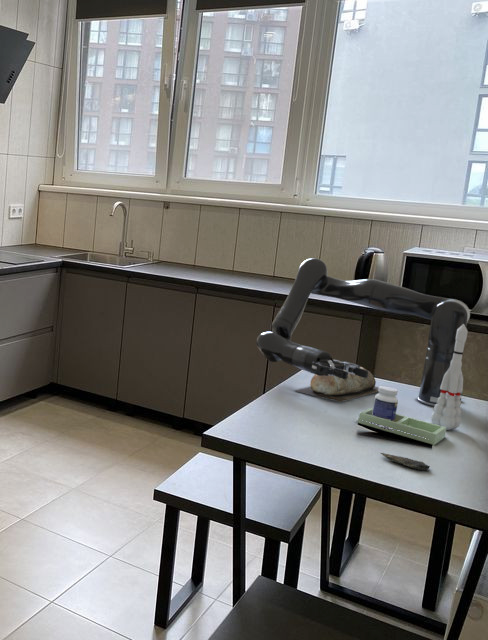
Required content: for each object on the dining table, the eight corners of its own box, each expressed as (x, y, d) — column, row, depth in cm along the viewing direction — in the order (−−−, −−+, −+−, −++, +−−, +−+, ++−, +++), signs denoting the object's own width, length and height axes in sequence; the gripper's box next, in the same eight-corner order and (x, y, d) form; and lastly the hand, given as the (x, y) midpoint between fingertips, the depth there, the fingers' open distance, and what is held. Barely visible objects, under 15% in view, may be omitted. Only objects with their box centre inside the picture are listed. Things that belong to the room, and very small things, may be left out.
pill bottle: (396, 427, 203) (402, 392, 202) (374, 424, 204) (380, 389, 203) (389, 421, 209) (395, 387, 207) (368, 418, 210) (374, 384, 208)
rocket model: (426, 421, 214) (445, 319, 209) (455, 426, 211) (475, 323, 207) (432, 429, 207) (452, 324, 202) (462, 434, 205) (483, 328, 200)
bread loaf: (332, 378, 258) (335, 351, 257) (387, 388, 246) (390, 361, 245) (293, 397, 233) (295, 368, 231) (352, 410, 221) (355, 380, 219)
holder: (370, 416, 214) (371, 406, 213) (444, 437, 200) (446, 427, 200) (358, 422, 206) (359, 412, 206) (434, 445, 193) (436, 434, 193)
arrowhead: (378, 456, 181) (379, 450, 181) (422, 463, 179) (423, 457, 178) (386, 467, 174) (387, 461, 174) (432, 474, 172) (433, 468, 172)
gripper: (326, 371, 232) (371, 386, 218) (293, 372, 226) (337, 388, 212) (329, 347, 231) (375, 361, 217) (296, 349, 225) (341, 363, 211)
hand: (357, 375), depth 214 cm, fingers open, 8 cm apart
